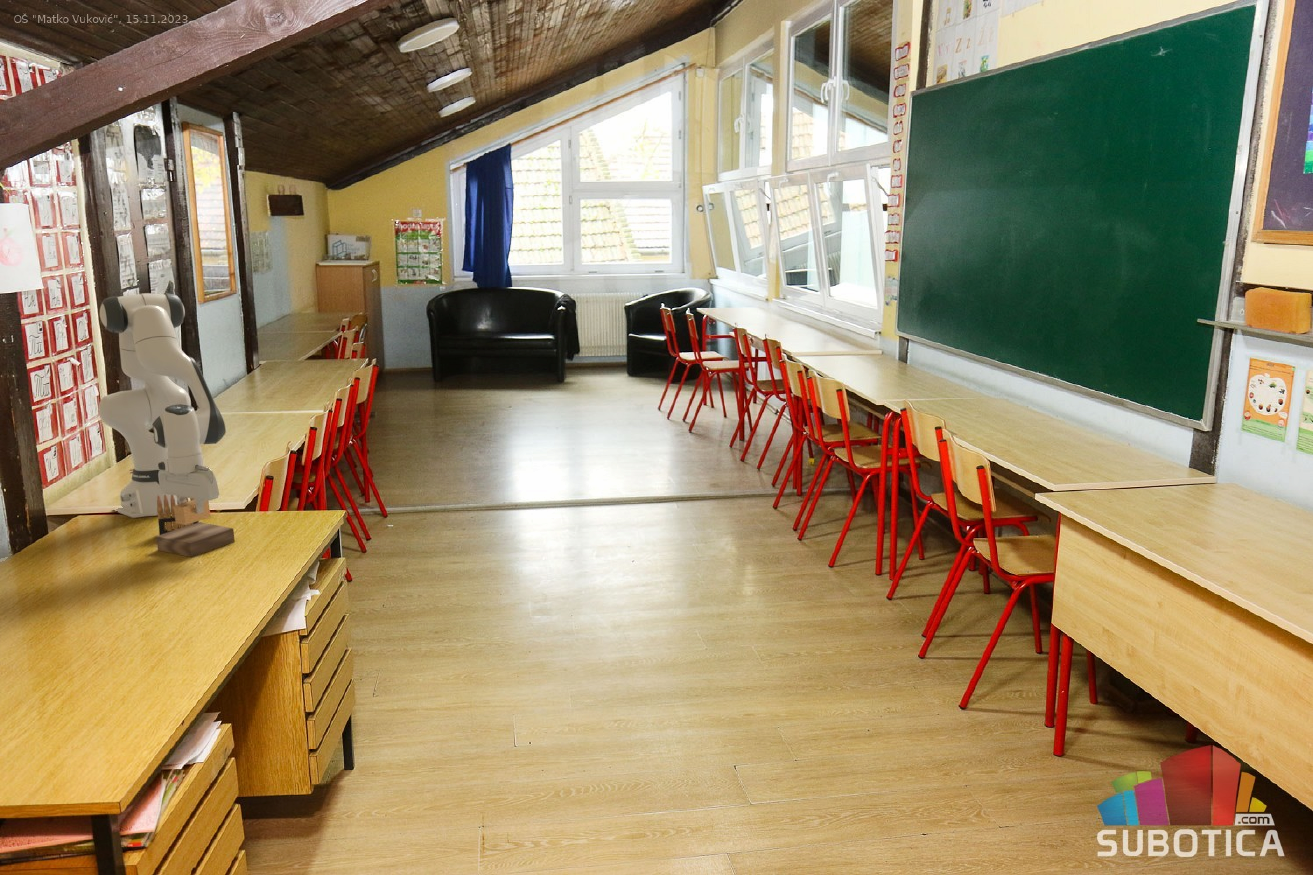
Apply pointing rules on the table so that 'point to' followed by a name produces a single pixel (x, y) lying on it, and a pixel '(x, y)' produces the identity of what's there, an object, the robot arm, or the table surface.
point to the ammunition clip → (168, 515)
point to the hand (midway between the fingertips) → (192, 512)
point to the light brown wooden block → (190, 512)
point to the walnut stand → (195, 539)
